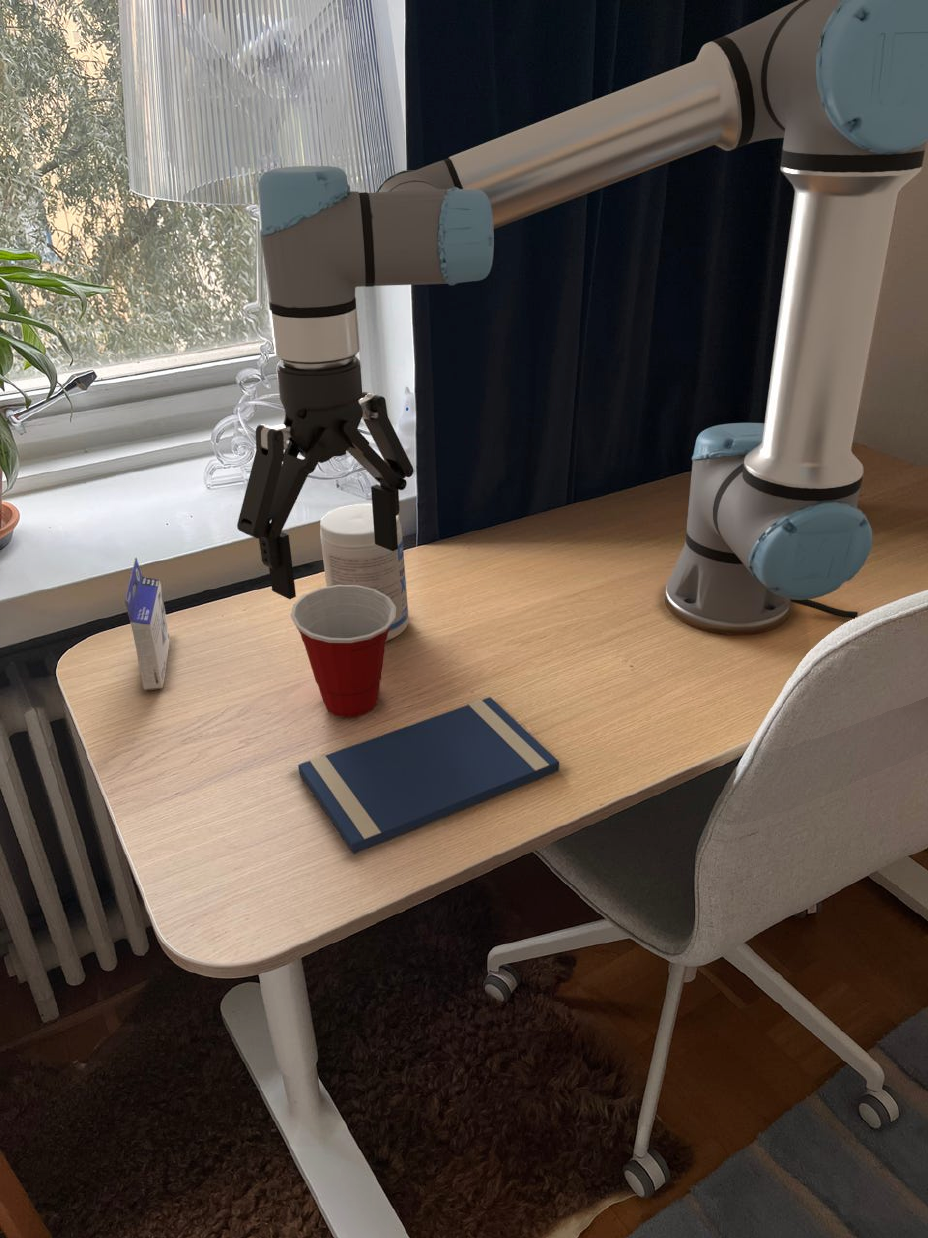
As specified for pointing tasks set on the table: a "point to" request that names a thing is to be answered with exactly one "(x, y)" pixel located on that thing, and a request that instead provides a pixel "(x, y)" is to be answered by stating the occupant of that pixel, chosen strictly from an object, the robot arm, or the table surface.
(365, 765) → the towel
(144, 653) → the ink box
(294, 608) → the plastic cup
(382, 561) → the supplement tub
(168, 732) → the table surface
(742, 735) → the table surface
